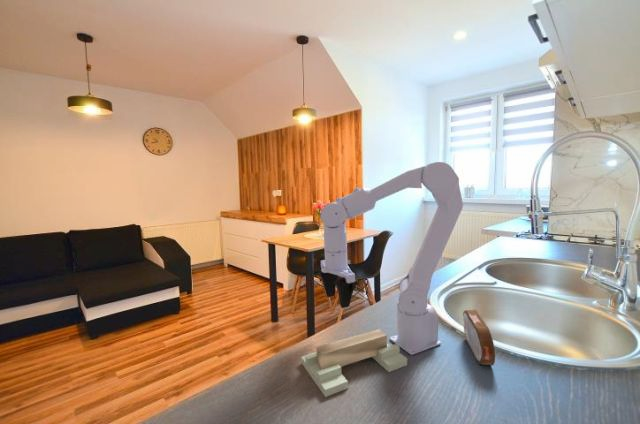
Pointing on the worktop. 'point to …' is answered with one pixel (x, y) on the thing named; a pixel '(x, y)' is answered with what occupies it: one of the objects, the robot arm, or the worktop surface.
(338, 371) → the stand
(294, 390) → the worktop surface
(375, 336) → the bar
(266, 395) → the worktop surface
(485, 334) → the brown rounded slab
